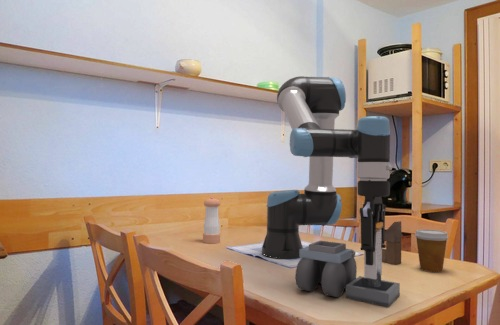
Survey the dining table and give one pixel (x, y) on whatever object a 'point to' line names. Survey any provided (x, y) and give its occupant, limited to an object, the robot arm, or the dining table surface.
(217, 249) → the dining table surface
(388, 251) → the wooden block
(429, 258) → the disposable coffee cup
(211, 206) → the salt shaker
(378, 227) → the capped glass tube
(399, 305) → the dining table surface
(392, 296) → the tray
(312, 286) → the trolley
